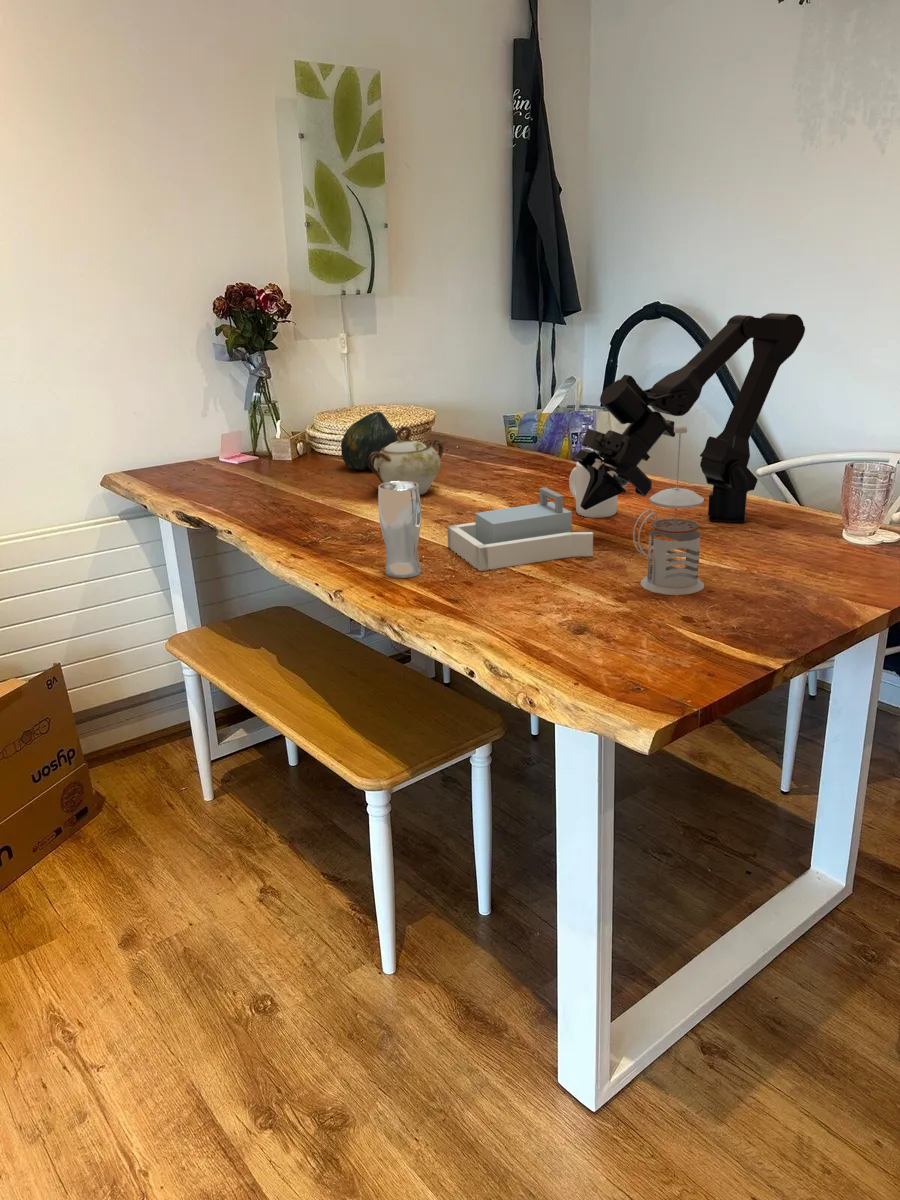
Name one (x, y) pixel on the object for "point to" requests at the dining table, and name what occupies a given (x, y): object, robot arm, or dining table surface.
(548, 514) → the box with loop handle
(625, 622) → the dining table surface
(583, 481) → the mug
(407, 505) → the beer glass
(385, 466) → the sugar bowl
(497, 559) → the bay
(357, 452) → the squash
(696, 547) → the french press
